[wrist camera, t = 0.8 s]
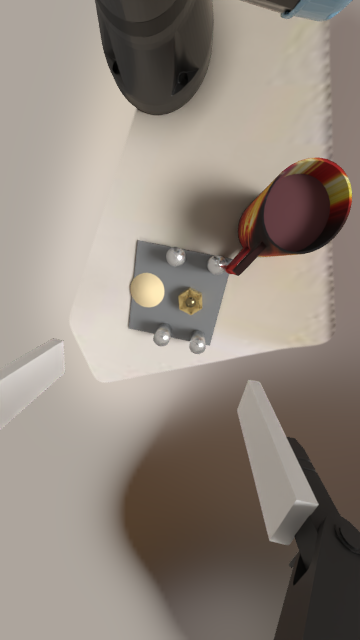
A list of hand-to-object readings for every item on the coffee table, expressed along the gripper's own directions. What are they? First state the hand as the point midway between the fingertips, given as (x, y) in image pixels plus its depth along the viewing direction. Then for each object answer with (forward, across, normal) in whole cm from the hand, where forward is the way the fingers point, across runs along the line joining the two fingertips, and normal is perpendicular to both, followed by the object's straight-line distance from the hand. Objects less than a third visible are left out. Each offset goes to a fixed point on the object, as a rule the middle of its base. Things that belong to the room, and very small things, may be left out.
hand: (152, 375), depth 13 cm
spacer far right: (+26, +5, -8) cm, 27 cm away
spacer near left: (+26, -2, +7) cm, 27 cm away
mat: (+26, -1, 0) cm, 26 cm away
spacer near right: (+26, +5, +7) cm, 27 cm away
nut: (+26, +2, 0) cm, 26 cm away
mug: (+26, +12, +13) cm, 32 cm away
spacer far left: (+26, -2, -8) cm, 27 cm away
